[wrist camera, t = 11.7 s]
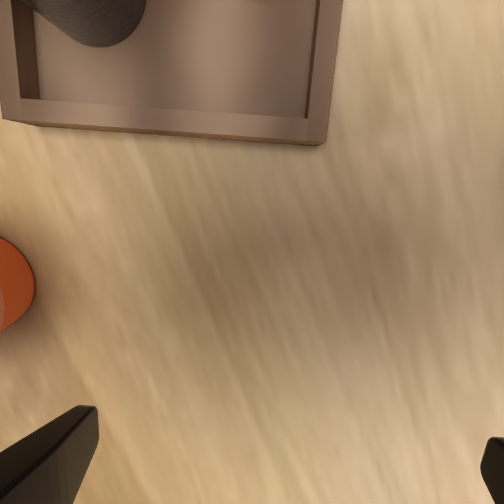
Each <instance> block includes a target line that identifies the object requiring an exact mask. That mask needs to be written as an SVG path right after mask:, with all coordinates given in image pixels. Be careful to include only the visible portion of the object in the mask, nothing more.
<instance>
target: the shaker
mask: <svg viewBox="0 0 504 504" xmlns="http://www.w3.org/2000/svg"><path fill="white" fill-rule="evenodd" d="M22 1H23V2H24V3H26V4H27V5H28V6H29V7H31V8H32V9H33V10H35V11H36V12H37V13H39V14H40V15H41V16H42V17H44V18H45V19H46V20H48V21H49V22H50V23H52V24H53V25H54V26H55V27H57V28H58V29H59V30H61V31H62V32H63V33H65V34H66V35H67V36H69V37H70V38H71V39H73V40H75V41H77V42H79V43H82V44H84V45H88V46H95V47H103V46H109V45H112V44H115V43H118V42H119V41H121V40H123V39H124V38H126V37H127V36H128V35H129V34H130V33H131V32H132V31H133V30H134V29H135V27H136V26H137V25H138V23H139V21H140V19H141V17H142V14H143V12H144V8H145V4H146V0H22Z"/></svg>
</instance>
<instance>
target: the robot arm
mask: <svg viewBox="0 0 504 504" xmlns="http://www.w3.org/2000/svg"><path fill="white" fill-rule="evenodd" d="M98 441H99V424H98V411H97V408H96V407H95V406H87V405H78V406H75V407H74V408H72V409H70V410H69V411H67V412H65V413H64V414H62V415H61V416H59V417H57V418H56V419H54V420H52V421H51V422H49V423H47V424H46V425H44V426H43V427H41V428H39V429H38V430H36V431H34V432H33V433H31V434H29V435H28V436H26V437H25V438H23V439H21V440H20V441H18V442H16V443H15V444H13V445H11V446H10V447H8V448H7V449H5V450H3V451H2V452H0V504H73V502H74V500H75V497H76V495H77V493H78V490H79V488H80V485H81V483H82V481H83V478H84V476H85V474H86V471H87V469H88V467H89V464H90V462H91V459H92V457H93V455H94V452H95V450H96V448H97V445H98ZM480 469H481V474H482V477H483V480H484V482H485V484H486V486H487V488H488V490H489V492H490V494H491V496H492V498H493V501H494V503H495V504H504V438H502V437H491V438H490V439H489V440H488V442H487V445H486V448H485V451H484V455H483V458H482V461H481V465H480Z"/></svg>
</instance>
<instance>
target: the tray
mask: <svg viewBox="0 0 504 504" xmlns="http://www.w3.org/2000/svg"><path fill="white" fill-rule="evenodd" d="M342 4H343V0H146V4H145V8H144V12H143V14H142V17H141V19H140V21H139V23H138V25H137V26H136V27H135V29H134V30H133V31H132V32H131V33H130V34H129V35H128V36H127V37H126V38H124V39H123V40H121V41H119V42H118V43H115V44H112V45H109V46H103V47H95V46H88V45H84V44H82V43H79V42H77V41H75V40H73V39H71V38H70V37H69V36H67V35H66V34H65V33H63V32H62V31H61V30H59V29H58V28H57V27H55V26H54V25H53V24H52V23H50V22H49V21H48V20H46V19H45V18H44V17H42V16H41V15H40V14H39V13H37V12H36V11H35V10H33V9H32V8H31V7H29V6H28V5H27V4H26V3H24V2H23V1H22V0H0V103H1V112H2V119H6V120H10V121H15V122H20V123H25V124H30V125H34V126H44V127H58V128H72V129H86V130H100V131H114V132H128V133H142V134H156V135H170V136H184V137H198V138H212V139H226V140H240V141H254V142H268V143H282V144H296V145H310V146H318V145H320V144H323V143H325V142H326V137H327V129H328V120H329V112H330V104H331V95H332V87H333V79H334V70H335V62H336V54H337V45H338V37H339V29H340V20H341V12H342Z"/></svg>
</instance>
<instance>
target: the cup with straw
mask: <svg viewBox="0 0 504 504" xmlns="http://www.w3.org/2000/svg"><path fill="white" fill-rule="evenodd" d="M33 296H34V278H33V274H32V271H31V269H30V267H29V265H28V263H27V261H26V260H25V258H24V257H23V255H22V254H21V253H20V252H19V251H18V250H17V249H16V248H15V247H14V246H12V245H11V244H10V243H8V242H7V241H5V240H3V239H1V238H0V332H1V331H2V330H3V329H5V328H6V327H7V326H9V325H10V324H11V323H13V322H14V321H15V320H16V319H18V318H19V317H20V316H21V315H22V314H23V313H25V311H26V310H27V309H28V307H29V306H30V304H31V302H32V299H33Z"/></svg>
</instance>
